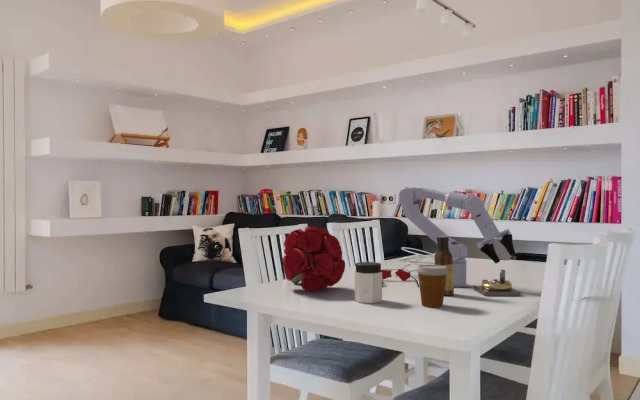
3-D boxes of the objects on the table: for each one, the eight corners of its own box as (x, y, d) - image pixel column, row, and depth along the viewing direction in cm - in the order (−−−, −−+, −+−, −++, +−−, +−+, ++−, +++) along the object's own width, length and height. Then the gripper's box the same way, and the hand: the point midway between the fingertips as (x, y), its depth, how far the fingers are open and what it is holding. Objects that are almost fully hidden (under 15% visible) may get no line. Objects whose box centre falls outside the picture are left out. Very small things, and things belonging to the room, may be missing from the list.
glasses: (410, 281, 206) (410, 268, 206) (419, 288, 190) (419, 274, 190) (375, 281, 206) (375, 268, 206) (382, 288, 189) (382, 275, 189)
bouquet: (270, 305, 189) (299, 274, 166) (264, 247, 200) (290, 210, 177) (323, 304, 198) (358, 275, 174) (314, 248, 209) (346, 214, 186)
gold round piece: (503, 291, 171) (503, 274, 171) (476, 287, 179) (476, 271, 178) (517, 287, 179) (517, 271, 179) (490, 284, 186) (490, 268, 186)
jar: (351, 302, 162) (351, 264, 162) (357, 297, 170) (357, 261, 170) (379, 304, 159) (379, 265, 159) (384, 299, 167) (384, 262, 167)
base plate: (484, 296, 173) (484, 291, 173) (474, 289, 185) (474, 285, 185) (520, 296, 173) (520, 291, 172) (507, 289, 185) (507, 285, 184)
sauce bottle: (455, 293, 177) (455, 236, 177) (452, 296, 171) (452, 237, 171) (436, 292, 180) (436, 235, 180) (432, 295, 174) (432, 236, 174)
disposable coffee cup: (414, 302, 162) (414, 264, 162) (444, 302, 162) (444, 264, 162) (419, 308, 153) (419, 268, 153) (451, 309, 153) (451, 268, 153)
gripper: (477, 228, 181) (497, 262, 178) (506, 215, 187) (526, 248, 183) (467, 235, 188) (486, 268, 184) (496, 222, 193) (515, 254, 190)
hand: (505, 258), depth 184 cm, fingers open, 7 cm apart
